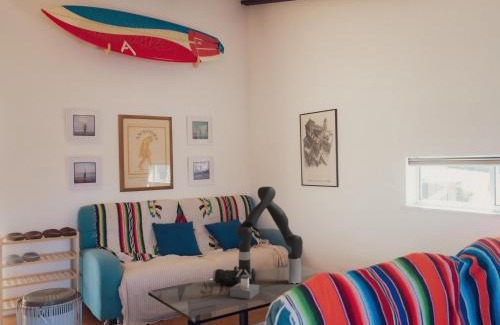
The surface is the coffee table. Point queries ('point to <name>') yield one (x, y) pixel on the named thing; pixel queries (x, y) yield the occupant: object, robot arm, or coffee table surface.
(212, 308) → the coffee table surface
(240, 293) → the socket
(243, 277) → the plug
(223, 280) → the muzzle brake
